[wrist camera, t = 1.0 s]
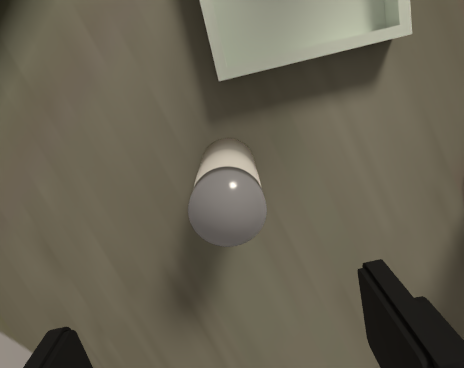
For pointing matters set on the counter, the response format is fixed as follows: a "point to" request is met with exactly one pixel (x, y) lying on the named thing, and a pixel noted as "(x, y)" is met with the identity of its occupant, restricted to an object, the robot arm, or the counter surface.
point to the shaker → (227, 195)
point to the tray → (295, 30)
